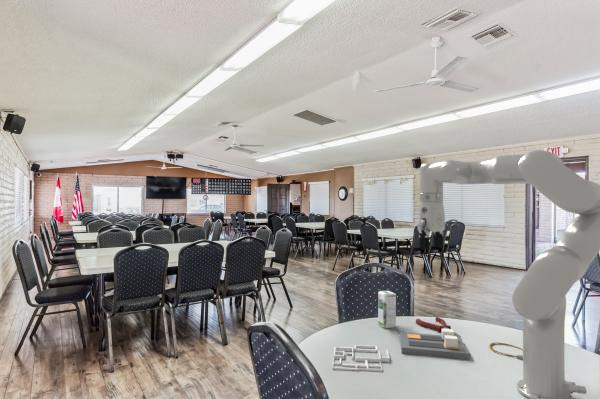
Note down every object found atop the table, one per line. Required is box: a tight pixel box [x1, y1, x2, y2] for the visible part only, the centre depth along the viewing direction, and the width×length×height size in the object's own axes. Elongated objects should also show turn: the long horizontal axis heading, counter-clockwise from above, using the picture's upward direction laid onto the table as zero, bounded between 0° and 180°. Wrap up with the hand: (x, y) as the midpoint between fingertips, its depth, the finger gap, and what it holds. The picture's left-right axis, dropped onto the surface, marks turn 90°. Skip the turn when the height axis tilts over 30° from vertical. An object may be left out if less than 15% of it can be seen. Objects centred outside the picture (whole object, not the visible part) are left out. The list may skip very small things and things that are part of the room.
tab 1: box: [440, 328, 455, 340], centre depth 133 cm, size 4×3×3 cm
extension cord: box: [489, 342, 523, 361], centre depth 127 cm, size 12×16×2 cm
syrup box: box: [377, 290, 397, 329], centre depth 155 cm, size 6×6×14 cm
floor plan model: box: [332, 344, 391, 373], centre depth 125 cm, size 19×25×2 cm
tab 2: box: [444, 335, 458, 348], centre depth 127 cm, size 4×3×3 cm
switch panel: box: [399, 331, 470, 360], centre depth 131 cm, size 22×16×2 cm
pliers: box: [415, 316, 462, 338], centre depth 150 cm, size 12×21×3 cm, turn 13°
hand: (431, 248), depth 124 cm, fingers open, 9 cm apart
